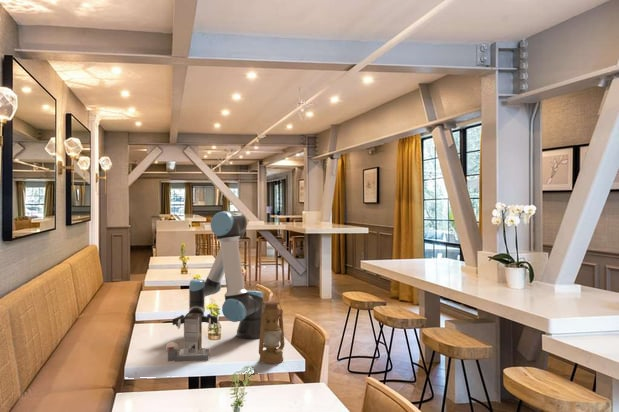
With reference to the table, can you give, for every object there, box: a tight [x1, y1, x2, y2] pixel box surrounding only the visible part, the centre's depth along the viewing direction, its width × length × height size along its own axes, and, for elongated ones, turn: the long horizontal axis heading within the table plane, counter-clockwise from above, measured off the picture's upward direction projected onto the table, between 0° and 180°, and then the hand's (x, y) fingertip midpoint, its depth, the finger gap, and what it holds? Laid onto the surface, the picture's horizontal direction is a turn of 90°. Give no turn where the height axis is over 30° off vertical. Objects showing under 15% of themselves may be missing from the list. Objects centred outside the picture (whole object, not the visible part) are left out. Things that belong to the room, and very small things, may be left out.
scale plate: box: [179, 347, 207, 356], centre depth 222 cm, size 11×9×1 cm
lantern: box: [258, 290, 285, 365], centre depth 218 cm, size 15×10×30 cm
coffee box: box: [183, 312, 203, 354], centre depth 222 cm, size 9×6×16 cm
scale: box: [165, 341, 210, 363], centre depth 222 cm, size 18×10×8 cm, turn 98°
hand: (194, 325), depth 227 cm, fingers open, 13 cm apart
